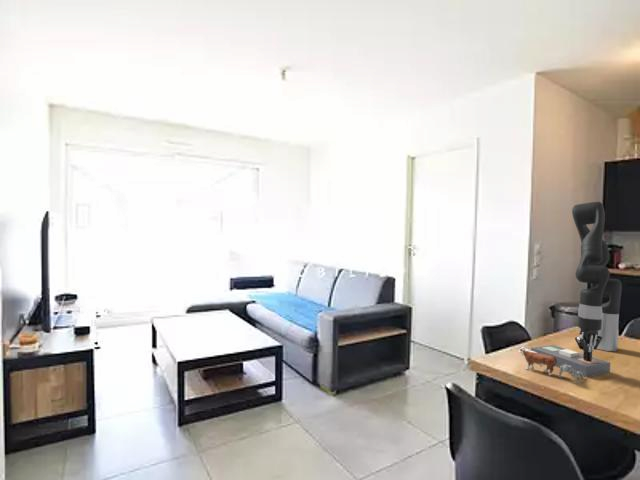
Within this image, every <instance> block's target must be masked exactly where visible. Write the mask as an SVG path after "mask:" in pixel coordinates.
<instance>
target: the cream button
mask: <svg viewBox="0 0 640 480" xmlns="http://www.w3.org/2000/svg"><path fill="white" fill-rule="evenodd" d="M579 353H580V352H578V351H575V350H572V349H569V348H565V349H564V350H559V354H561V355H564V356H567V357H570V358H572V357H579Z"/></svg>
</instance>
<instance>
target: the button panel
mask: <svg viewBox="0 0 640 480" xmlns="http://www.w3.org/2000/svg"><path fill="white" fill-rule="evenodd" d="M543 347H553V348H556V349H559V350H564V349H566V348H564V347H561V346H557V345H554V344H551V345H542V346H534V347H531V348H530V350H531V351H534V352H537V353H540V354H545V355H550V356H554V357H555V358H556V359H557V363H556V364H555V363H554V364H555V365H554V367H557V368H560V366H563V364H566V365H569V366H572V368H573V369H574V370H576V371H577V372H578V371H579V372H582V373H583V377H585V378H588V377H594V376H600V375H601V376H602V375H606V374H610V373H611V362H609V361H605V360H604V359H600V358H596V357H593V356H592V360H593V361H597V362H598V363H595V364H588V363H585V362H582V361H579V360H577V359H582V358H583V355H584V353H580V352H578V353H579V357H572V358H570V357H567V356H564V355H561V354H559V351H555V352H552V351H549V350H546V349H543ZM555 362H556V361H555Z"/></svg>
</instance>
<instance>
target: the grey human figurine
mask: <svg viewBox="0 0 640 480" xmlns="http://www.w3.org/2000/svg"><path fill="white" fill-rule="evenodd" d="M563 372H565V373H568V374H571V376H572V377H574V379H575V380H574V382H575V383H577V384H579V382H580V381H579V379H582V380H583V379H584V376H583V373H582V372H579V371H578V372H577V371H576V370H574V369H573V368H572V366H569V365H566V364H563V366H560V367H559V371H558V374H559V375H558V377H559V379H563V378H562V374H563Z"/></svg>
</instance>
